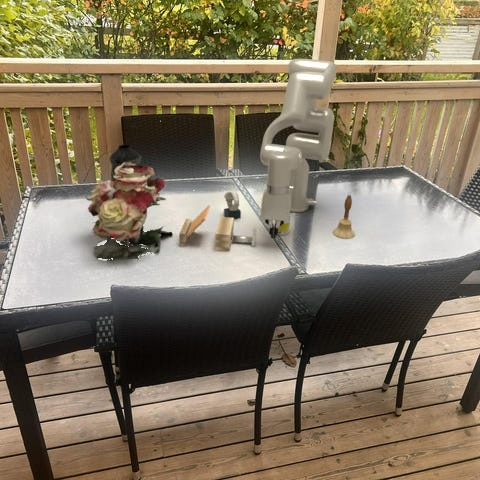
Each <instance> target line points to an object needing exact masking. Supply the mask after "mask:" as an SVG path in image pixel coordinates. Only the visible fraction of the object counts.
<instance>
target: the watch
mask: <svg viewBox="0 0 480 480" xmlns="http://www.w3.org/2000/svg"><path fill="white" fill-rule="evenodd" d="M223 197H224V199H225V201H226V205H227V208H223V217H229V218H234V220H237V219H241V217H242V216H241V215H242V211H241V209H239V207H240V199H239V198H240V197H239V194H238V192H237V191H236V190H228V191H226V192H225V193H224V195H223Z"/></svg>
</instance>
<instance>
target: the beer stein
mask: <svg viewBox="0 0 480 480" xmlns="http://www.w3.org/2000/svg"><path fill="white" fill-rule="evenodd" d="M108 159H109V162H110V164H111V172H110V181H113V182H114V180H115V179H114V177H113V176H115V174H116V173H115V172H114V170H115V168H116V167H118V166H121V165H122V164H123V163H132V164H136V165H141V162H142V155H140V153H138V152H137V151H136V150H135V149H133V148H131V146H130V145H128V144H121V145H119V146H118V147H117V149H116V150H115V151H114V152H113V153H112V154H111V155H110V156H109V158H108ZM113 187H114V188H115V186H113ZM115 190H116V188H115Z"/></svg>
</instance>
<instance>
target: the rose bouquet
mask: <svg viewBox="0 0 480 480" xmlns="http://www.w3.org/2000/svg"><path fill="white" fill-rule="evenodd" d="M114 172H115V173H116V174H115V176H113V177H114V179H115V180H114V182H113V181H111V179H110V180H105V181H100V183H97V184H96V185H93V187H92V189H93V190H90V193H91V196H88V197H86V198H85V200H87V201H89V202H90V201H91V204H90V205H89V207H87V209H88V212H89V213H90V214H91V216H93V217H95V216H96V217H97V218H98V219H97V220H96V221H94V222H92V224H94V223H95V224H94V226H93V228H92V232H93V234H94V235H95V236H96V237H98V238H101V239H106V238H107V242H106V243H105V244H104V245H100V246H96V245H95V246H96V247H94V248H93V250H92V252H93V254H94V255H95V258H96V259H97V258H102V259H108V260H107V261H106V262H113V261H121V260H136V259H138V261H140V260H139V258H140V257H142V256H141V255H142V254H146V253H147V252H150V253H151V254H152V252H153V253H154V254H156V255H155V256H158V255H159V254H160V249H161V238H160V237H161V236H162V234H169V235H170V234H171V236H173V231H165V230H162V229H163V228H164V227H165V226H164V225H163V226H161V227H160V228H156V229H149V230H150V231H147V232H144V231H143V230H145V228H144V224H145V222H146V219H147V217H148V208H150V207H152V206H160V205H161V203H158V202H160V201H167V198H166V197H162V196H161V195H160V192H161V191H162V190H164V188H166V187H167V184H166V182H165V180H164V178H163V177H157V178H155V179H154V176H155V174H156V173H155V171H154V168H152V167H150V166H145V165H141V164H140V165H136V164H132V163H123V164H122V165H121V166H118V167H116V168H115V170H114ZM113 186H115V188H116V190H115V188H114V187H113ZM111 238H114V239H111ZM116 240H117V241H122V242H123V241H125V245H126V246H125V245H120V244H119V243H117V242H116ZM129 242H130V243H129ZM129 244H130V246H129V247H128V245H129ZM131 244H133V246H132V245H131ZM139 244H143V245H146V246H145V247H147V248H148V249H147V248H146V249H145V248H141V247H142V246H140V245H139ZM137 245H138V246H137ZM139 246H140V247H139ZM149 247H150V248H149ZM147 254H148V253H147ZM139 255H140V257H139V258H138V256H139ZM111 258H113V260H112V259H111ZM109 259H110V260H109Z"/></svg>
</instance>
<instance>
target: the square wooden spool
mask: <svg viewBox="0 0 480 480" xmlns="http://www.w3.org/2000/svg"><path fill="white" fill-rule="evenodd" d="M234 221H235V219H234V218H229V217H225V216H220V218H219V221H218V224H217V227H216V230H215V231H216V232H215V235H214V236H215V240H214V241H215V242H214V243H215V244H214V250H215V251H220V252H222V251H223V252H230V250H231V244H232V240H233V235H234V226H235V225H234V223H235V222H234ZM191 223H192V219H191V218H186V219H185V221H184V222H183V224H182V227H181V229H180V231H179V247H186V245H187V244H188V240H189V238H190V236H189V237H188V238H187V237H186V235H187V233H188V230H189V228H190V225H191Z"/></svg>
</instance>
